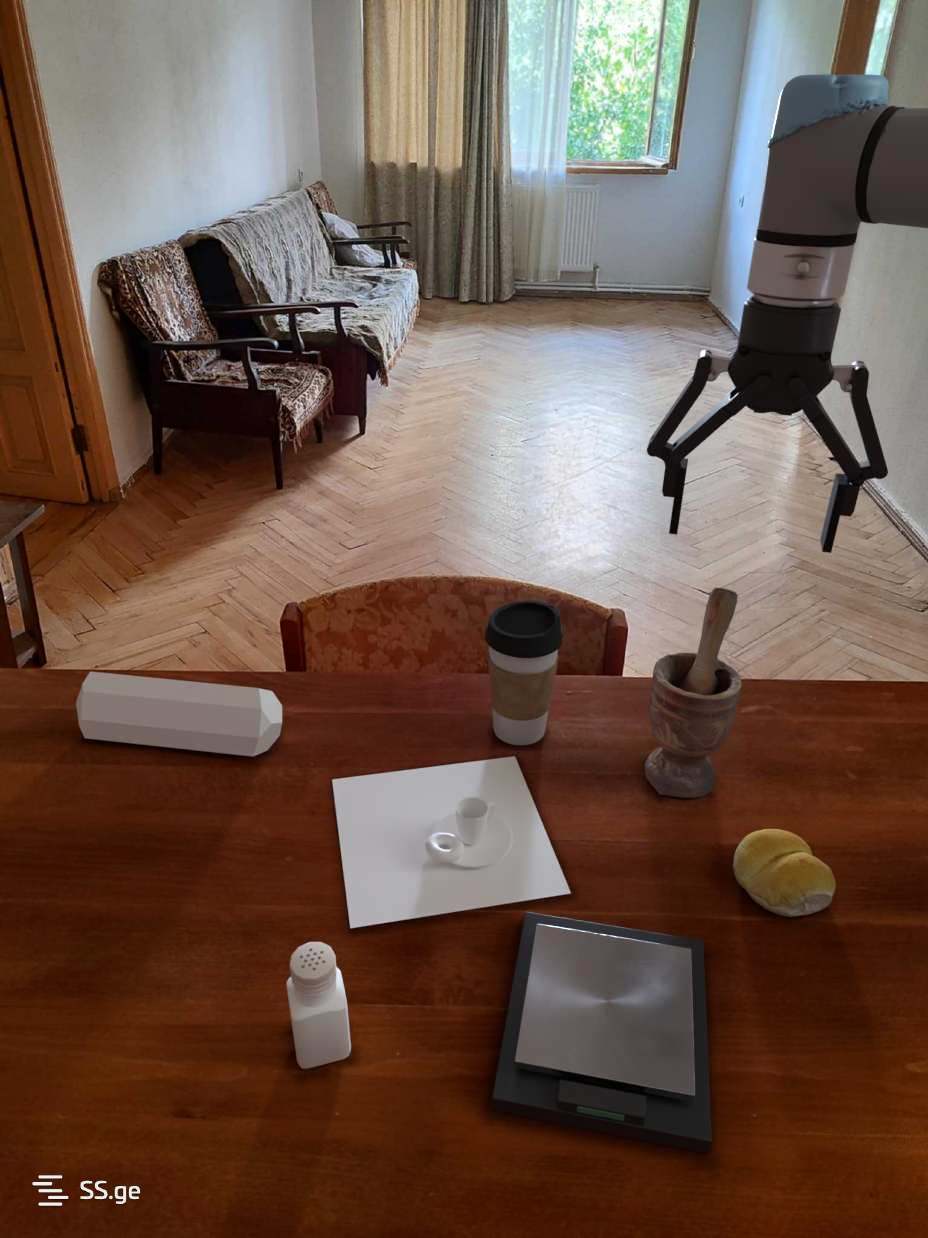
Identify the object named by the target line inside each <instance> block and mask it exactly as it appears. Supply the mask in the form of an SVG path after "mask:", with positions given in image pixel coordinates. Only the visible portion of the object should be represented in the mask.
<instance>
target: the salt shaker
mask: <svg viewBox="0 0 928 1238" xmlns="http://www.w3.org/2000/svg"><path fill="white" fill-rule="evenodd" d="M336 961H337V958H336V954H335V952H334V950H333V949H332V946H330V945H328V944H326V943H324V942H323V941H308V942H307V943H306V942H305V943H304V944H302V945H300V946H297V948H296V949H295V951H293V953H292V954H291V955H290V961H289V971H290V977H288V979H287V981H286V982H285V983H286V992H287V999H288V1006H289V1014H290V1020H291V1027H292V1035H293V1041H294V1049H295V1057H296V1062H297V1064H298V1066H299V1067H300V1068H301V1069H305V1070H308V1069H311V1068H315V1067H318V1066H319V1067H320V1066H323V1065H326V1064H330V1063H331V1064H332V1063H335V1062H338V1061H342V1060H346V1059H347V1058H348V1057H349V1056H350V1055H351V1051H352V1042H351V1032H350V1020H349V1019H350V1018H349V1009H348V1001H347V996H346V990H345V985H344V980H343V975H342V971H341V970H340V968H339V967H338V966H337V962H336Z"/></svg>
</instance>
